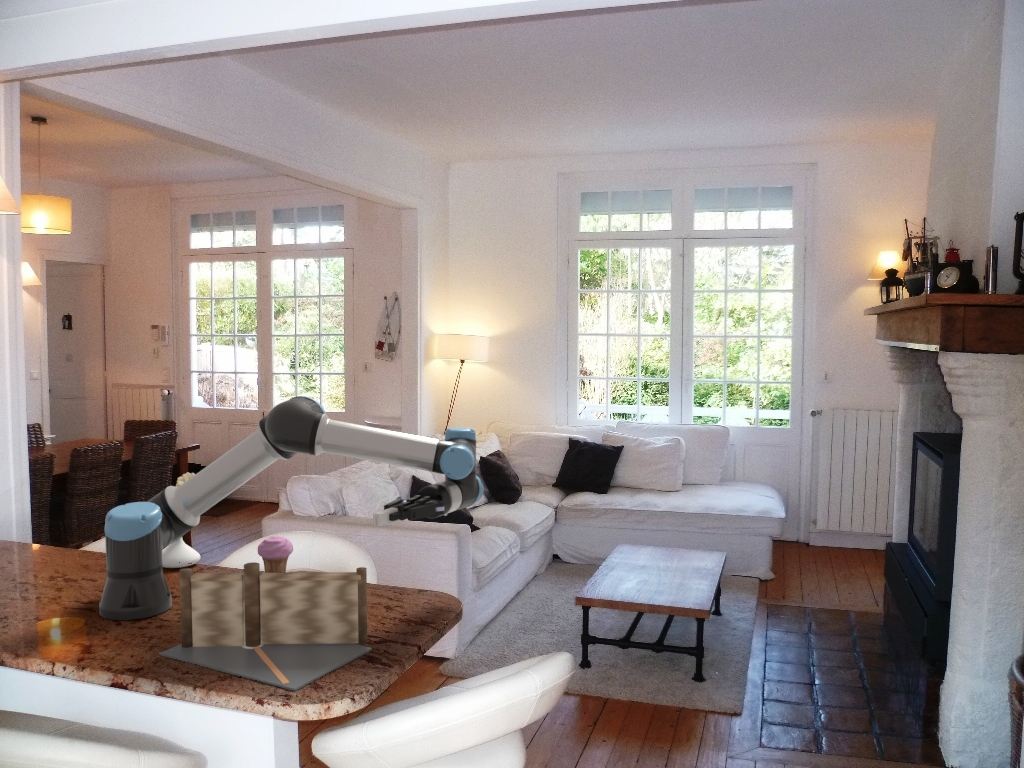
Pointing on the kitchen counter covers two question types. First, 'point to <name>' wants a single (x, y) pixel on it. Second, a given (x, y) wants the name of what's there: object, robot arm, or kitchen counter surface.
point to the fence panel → (314, 607)
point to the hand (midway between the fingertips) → (376, 519)
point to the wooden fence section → (220, 608)
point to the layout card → (272, 660)
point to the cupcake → (275, 553)
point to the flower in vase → (180, 544)
